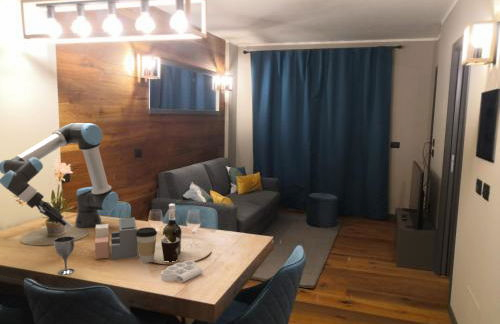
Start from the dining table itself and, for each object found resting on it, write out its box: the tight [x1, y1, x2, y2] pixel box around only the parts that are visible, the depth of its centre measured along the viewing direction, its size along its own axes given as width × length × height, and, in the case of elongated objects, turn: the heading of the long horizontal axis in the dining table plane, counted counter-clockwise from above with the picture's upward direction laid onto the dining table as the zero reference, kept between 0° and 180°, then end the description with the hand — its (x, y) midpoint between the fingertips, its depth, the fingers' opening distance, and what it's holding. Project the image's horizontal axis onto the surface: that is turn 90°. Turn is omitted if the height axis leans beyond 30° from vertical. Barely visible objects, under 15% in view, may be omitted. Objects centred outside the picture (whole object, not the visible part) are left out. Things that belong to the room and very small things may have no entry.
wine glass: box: [53, 235, 76, 276], centre depth 177 cm, size 8×8×15 cm
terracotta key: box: [94, 237, 110, 260], centre depth 196 cm, size 7×6×8 cm
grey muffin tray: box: [160, 260, 204, 283], centre depth 176 cm, size 3×18×15 cm
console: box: [110, 216, 139, 260], centre depth 203 cm, size 22×12×15 cm, turn 18°
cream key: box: [94, 223, 110, 241], centre depth 205 cm, size 7×6×12 cm
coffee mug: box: [160, 237, 180, 262], centre depth 193 cm, size 12×9×10 cm
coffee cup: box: [136, 226, 158, 264], centre depth 190 cm, size 10×10×15 cm
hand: (71, 228), depth 199 cm, fingers closed
